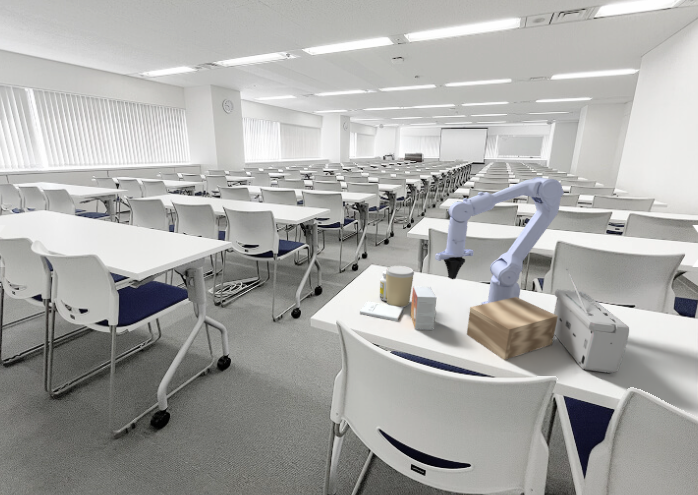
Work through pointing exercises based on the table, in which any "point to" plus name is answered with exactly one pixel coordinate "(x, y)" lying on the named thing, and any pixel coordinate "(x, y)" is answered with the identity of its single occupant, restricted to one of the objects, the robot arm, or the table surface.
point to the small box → (423, 307)
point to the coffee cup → (398, 285)
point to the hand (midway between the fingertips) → (451, 278)
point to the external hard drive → (382, 311)
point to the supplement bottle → (383, 287)
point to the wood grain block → (511, 327)
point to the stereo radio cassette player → (589, 331)
